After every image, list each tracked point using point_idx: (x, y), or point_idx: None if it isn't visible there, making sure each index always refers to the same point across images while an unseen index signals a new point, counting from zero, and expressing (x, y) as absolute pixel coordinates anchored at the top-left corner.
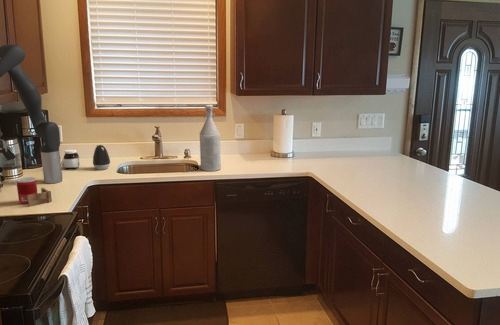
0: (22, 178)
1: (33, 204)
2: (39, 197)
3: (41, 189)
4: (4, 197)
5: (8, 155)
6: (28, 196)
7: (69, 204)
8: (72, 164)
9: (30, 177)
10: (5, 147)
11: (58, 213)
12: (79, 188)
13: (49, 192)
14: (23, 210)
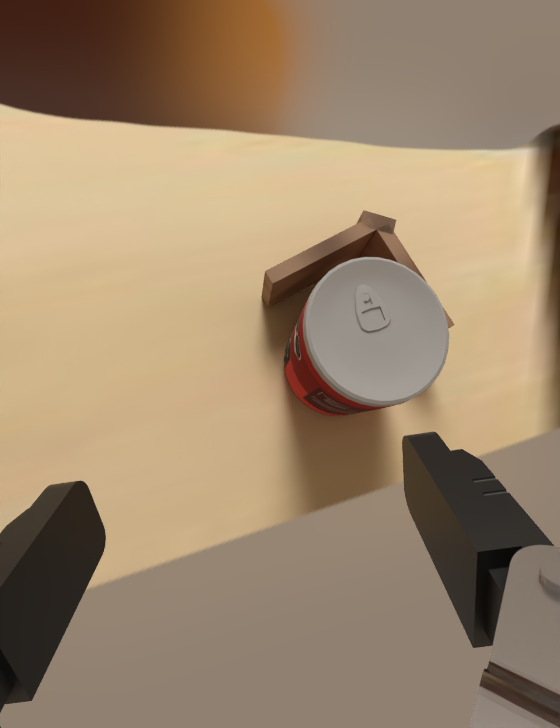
0: (331, 370)
1: None
2: None
3: (279, 283)
4: (187, 554)
5: (503, 491)
6: (450, 324)
7: (422, 153)
8: None
9: (313, 306)
10: (529, 690)
11: (551, 185)
12: (109, 129)
13: (379, 218)
14: (484, 356)
